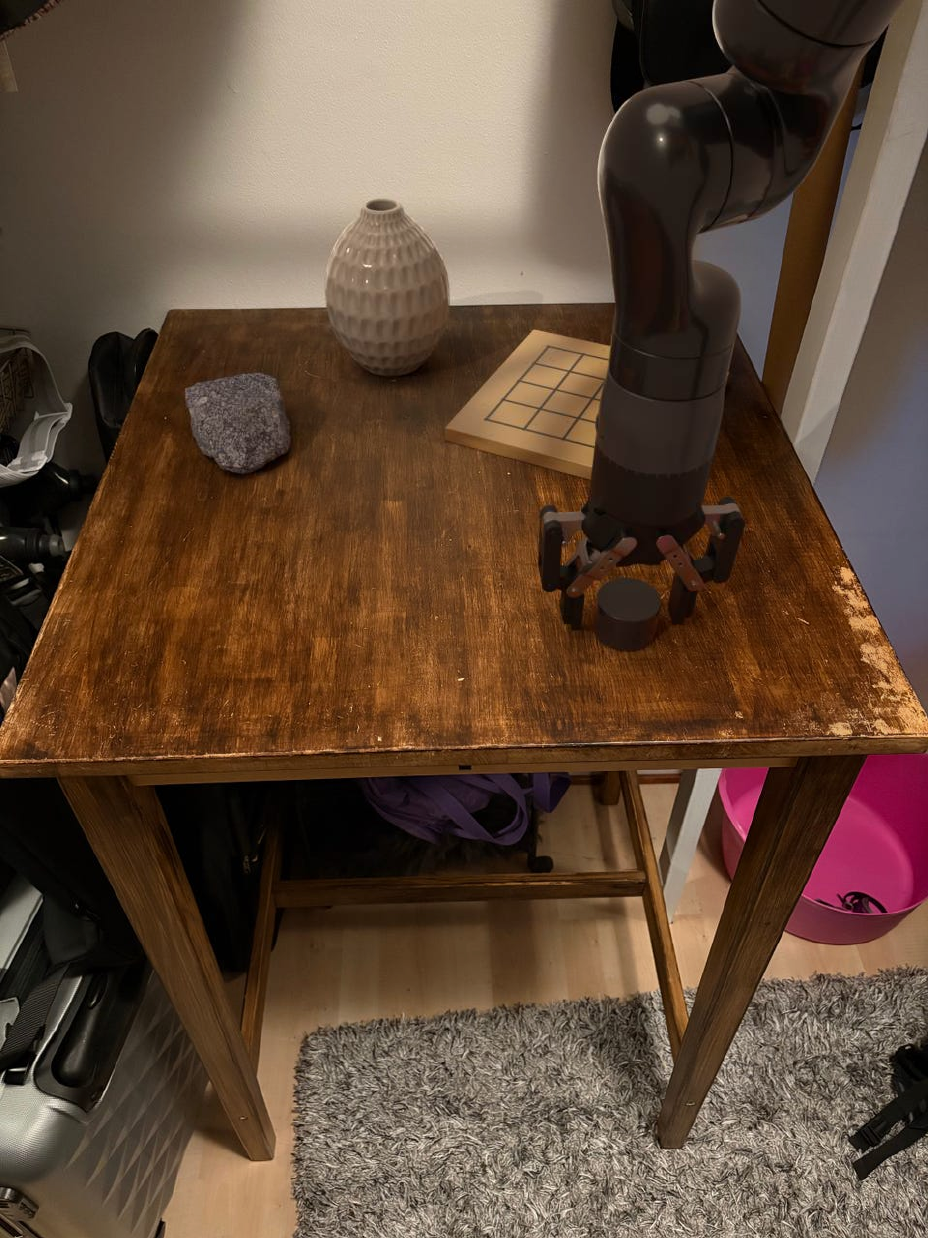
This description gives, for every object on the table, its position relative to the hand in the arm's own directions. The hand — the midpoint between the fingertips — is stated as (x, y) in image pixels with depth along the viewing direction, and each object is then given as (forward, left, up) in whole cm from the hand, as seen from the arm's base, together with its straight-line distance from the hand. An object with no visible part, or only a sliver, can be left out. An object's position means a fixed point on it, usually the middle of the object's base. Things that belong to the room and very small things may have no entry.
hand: (624, 619), depth 69 cm
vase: (+36, -28, -1) cm, 46 cm away
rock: (+41, -9, -1) cm, 42 cm away
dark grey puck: (0, 0, -1) cm, 1 cm away
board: (+13, -28, -1) cm, 31 cm away
